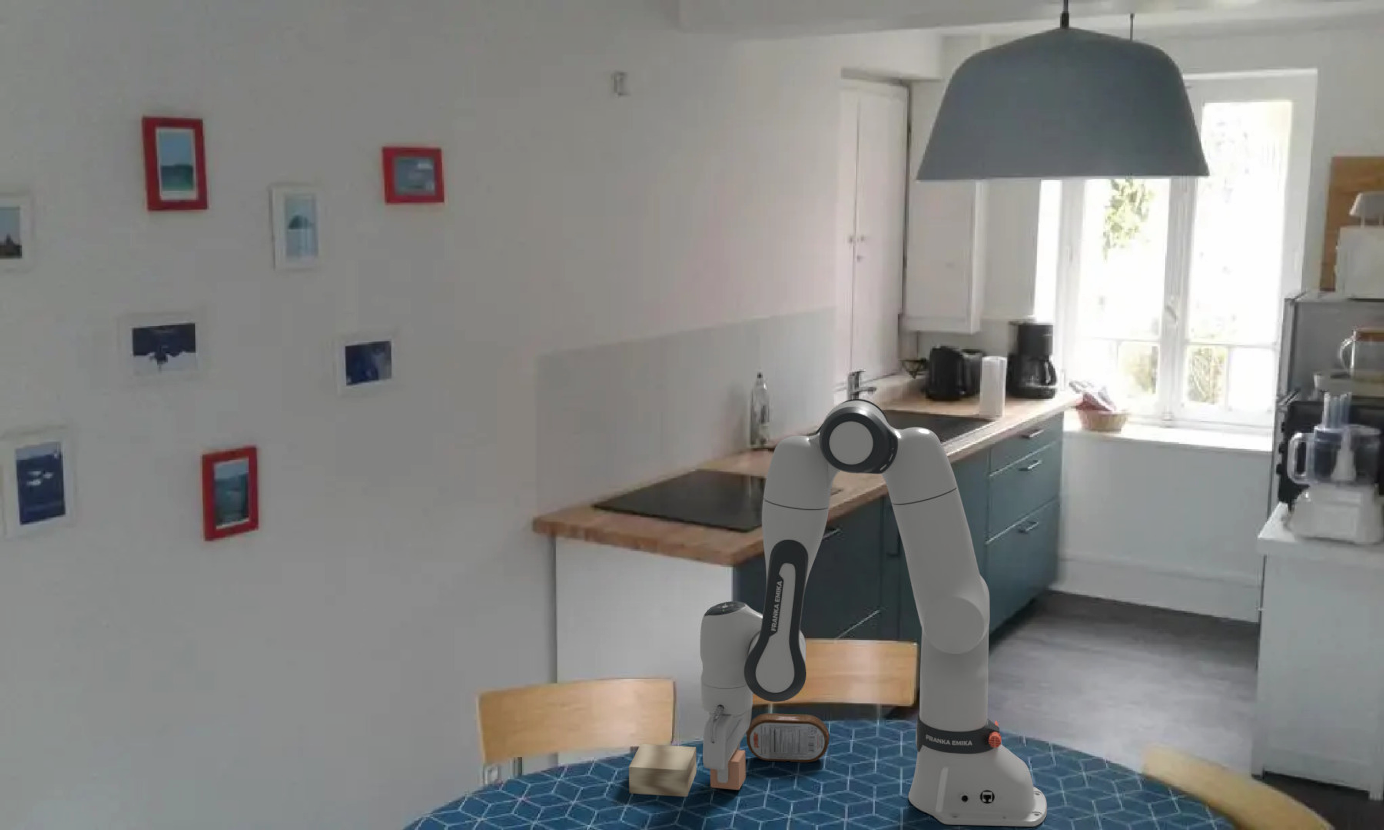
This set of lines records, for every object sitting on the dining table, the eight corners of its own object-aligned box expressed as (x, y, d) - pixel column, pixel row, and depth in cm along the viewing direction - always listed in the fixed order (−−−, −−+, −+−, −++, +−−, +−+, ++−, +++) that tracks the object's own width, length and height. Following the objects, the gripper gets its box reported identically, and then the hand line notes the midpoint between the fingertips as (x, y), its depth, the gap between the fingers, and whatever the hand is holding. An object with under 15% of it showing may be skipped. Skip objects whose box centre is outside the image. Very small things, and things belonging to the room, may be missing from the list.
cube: (745, 777, 220) (745, 750, 220) (739, 789, 215) (738, 761, 215) (717, 775, 222) (717, 748, 221) (710, 787, 217) (710, 759, 216)
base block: (696, 774, 225) (696, 747, 224) (687, 798, 215) (686, 770, 214) (641, 770, 226) (640, 744, 226) (629, 794, 217) (629, 766, 216)
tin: (829, 757, 231) (829, 713, 230) (829, 764, 228) (829, 720, 227) (746, 755, 232) (746, 711, 231) (745, 762, 229) (745, 717, 228)
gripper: (730, 719, 206) (731, 800, 208) (757, 678, 225) (758, 752, 227) (692, 716, 207) (694, 796, 209) (723, 675, 227) (724, 749, 229)
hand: (728, 773), depth 218 cm, fingers closed on cube, 5 cm apart
